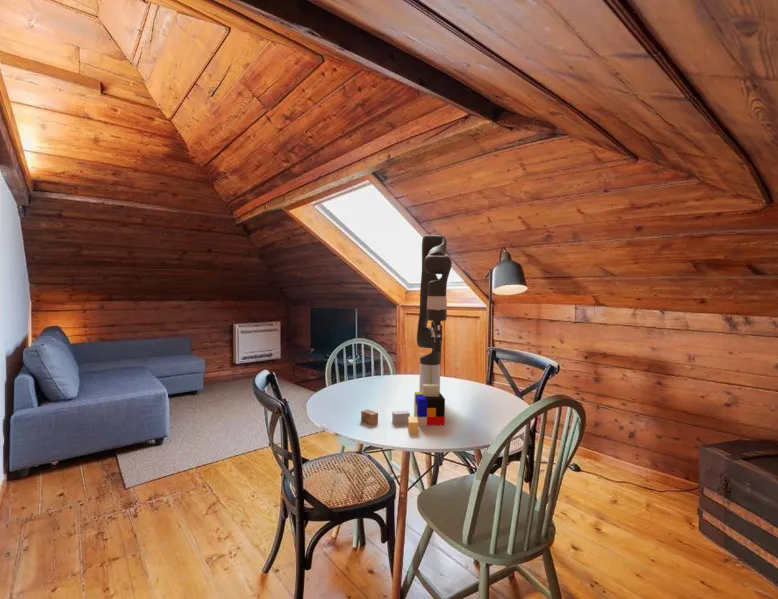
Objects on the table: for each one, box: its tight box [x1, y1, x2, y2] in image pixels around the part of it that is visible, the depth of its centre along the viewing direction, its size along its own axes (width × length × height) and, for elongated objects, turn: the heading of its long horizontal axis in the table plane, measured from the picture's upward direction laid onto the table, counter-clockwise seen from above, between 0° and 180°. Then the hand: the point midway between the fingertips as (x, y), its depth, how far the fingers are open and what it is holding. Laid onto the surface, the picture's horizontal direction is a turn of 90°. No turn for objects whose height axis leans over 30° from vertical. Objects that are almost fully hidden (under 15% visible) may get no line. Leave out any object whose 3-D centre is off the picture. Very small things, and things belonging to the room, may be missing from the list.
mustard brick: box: [407, 416, 419, 434], centre depth 142 cm, size 6×3×4 cm, turn 0°
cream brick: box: [423, 384, 439, 397], centre depth 152 cm, size 6×3×4 cm, turn 90°
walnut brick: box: [360, 408, 379, 426], centre depth 150 cm, size 6×3×4 cm, turn 44°
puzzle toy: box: [413, 391, 446, 427], centre depth 152 cm, size 10×10×10 cm
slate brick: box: [391, 410, 411, 425], centre depth 150 cm, size 6×3×4 cm, turn 102°
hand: (436, 349), depth 152 cm, fingers open, 8 cm apart
